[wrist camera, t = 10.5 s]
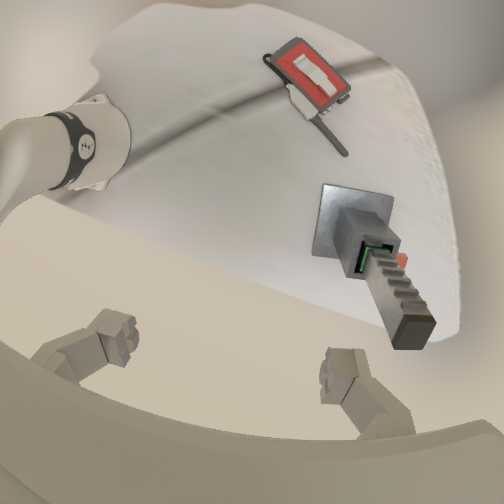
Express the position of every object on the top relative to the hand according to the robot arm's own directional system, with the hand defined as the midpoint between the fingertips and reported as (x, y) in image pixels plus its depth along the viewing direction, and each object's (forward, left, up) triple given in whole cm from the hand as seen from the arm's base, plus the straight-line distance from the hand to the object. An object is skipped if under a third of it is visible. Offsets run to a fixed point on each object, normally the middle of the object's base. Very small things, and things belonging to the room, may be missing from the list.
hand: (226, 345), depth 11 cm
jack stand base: (+14, -5, -35) cm, 38 cm away
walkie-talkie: (+6, +15, -36) cm, 39 cm away
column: (+14, -5, -28) cm, 31 cm away
